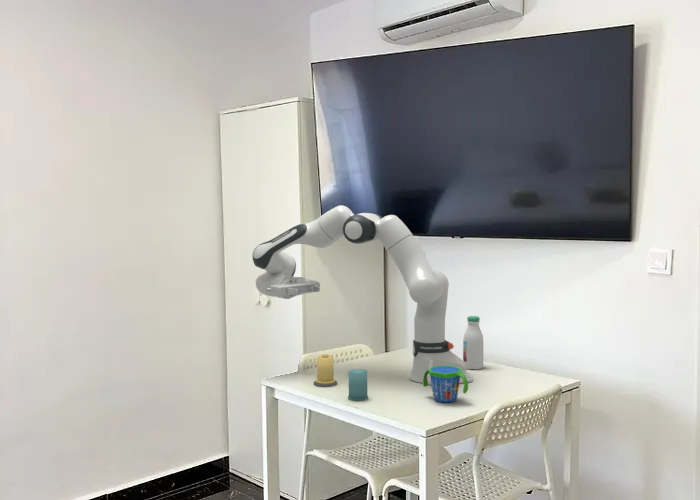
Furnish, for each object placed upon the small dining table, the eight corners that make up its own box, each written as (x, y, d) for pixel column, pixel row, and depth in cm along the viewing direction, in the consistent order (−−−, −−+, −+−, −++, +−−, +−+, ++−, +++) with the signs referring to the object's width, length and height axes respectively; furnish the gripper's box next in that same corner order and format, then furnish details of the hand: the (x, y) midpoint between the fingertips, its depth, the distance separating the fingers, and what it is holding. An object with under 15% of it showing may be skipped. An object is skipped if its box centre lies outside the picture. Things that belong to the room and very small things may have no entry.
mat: (336, 380, 252) (336, 378, 252) (337, 386, 244) (337, 384, 244) (313, 381, 252) (313, 379, 252) (313, 387, 243) (313, 385, 243)
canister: (367, 394, 233) (366, 368, 233) (369, 400, 227) (368, 373, 226) (347, 395, 233) (347, 368, 232) (348, 401, 226) (348, 373, 226)
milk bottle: (486, 367, 271) (486, 316, 270) (478, 371, 265) (479, 319, 263) (467, 364, 275) (468, 314, 274) (459, 368, 269) (460, 317, 268)
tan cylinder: (334, 379, 252) (334, 352, 251) (335, 384, 245) (335, 356, 244) (315, 379, 251) (315, 353, 250) (316, 384, 244) (315, 357, 244)
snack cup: (416, 398, 228) (416, 368, 228) (435, 392, 236) (435, 362, 235) (455, 408, 218) (455, 376, 217) (474, 401, 225) (474, 370, 225)
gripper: (263, 281, 260) (285, 284, 250) (306, 276, 274) (329, 279, 264) (263, 298, 261) (286, 301, 251) (306, 292, 275) (329, 296, 264)
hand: (308, 290), depth 257 cm, fingers open, 8 cm apart
